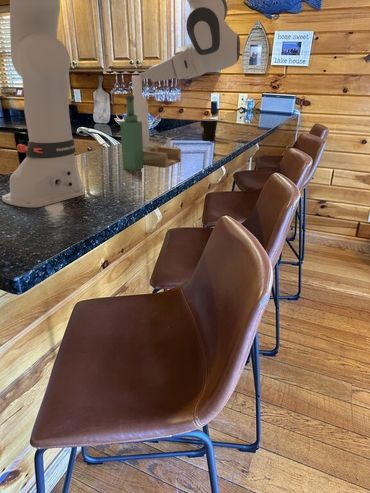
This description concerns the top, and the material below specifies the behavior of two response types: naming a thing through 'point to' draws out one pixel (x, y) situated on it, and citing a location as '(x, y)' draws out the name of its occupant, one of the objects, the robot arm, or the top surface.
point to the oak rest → (161, 156)
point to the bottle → (141, 109)
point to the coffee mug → (208, 129)
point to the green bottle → (131, 138)
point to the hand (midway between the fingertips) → (146, 73)
